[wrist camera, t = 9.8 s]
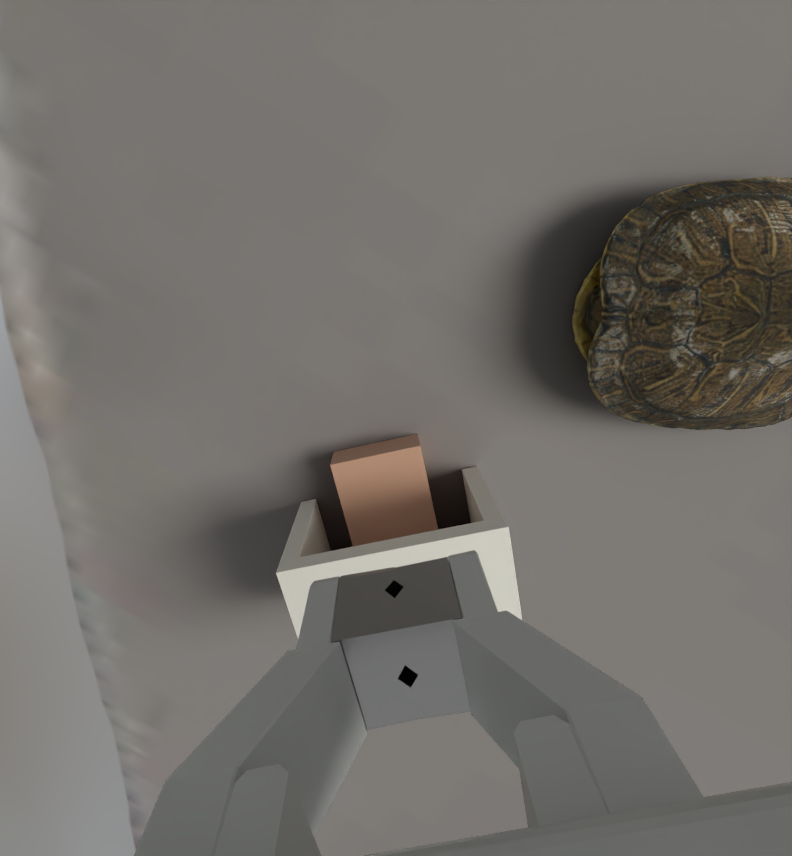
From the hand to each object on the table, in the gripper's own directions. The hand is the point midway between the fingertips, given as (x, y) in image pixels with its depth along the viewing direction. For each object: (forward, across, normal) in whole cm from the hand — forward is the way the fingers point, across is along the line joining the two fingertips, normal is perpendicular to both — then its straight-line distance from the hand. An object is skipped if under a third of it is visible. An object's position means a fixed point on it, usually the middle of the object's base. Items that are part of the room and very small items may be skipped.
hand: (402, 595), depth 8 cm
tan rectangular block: (+26, +2, +11) cm, 28 cm away
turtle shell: (+26, -23, +2) cm, 35 cm away
